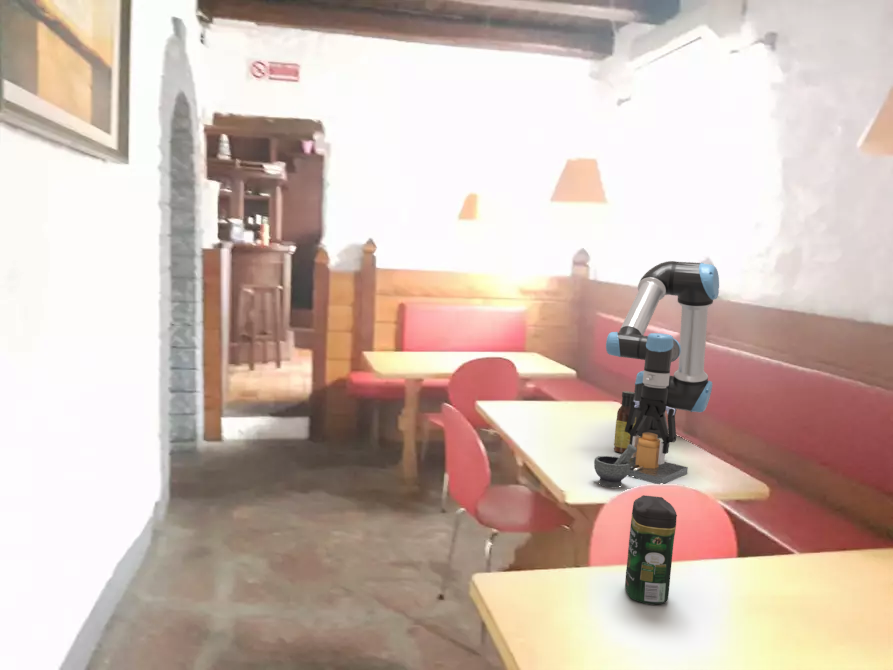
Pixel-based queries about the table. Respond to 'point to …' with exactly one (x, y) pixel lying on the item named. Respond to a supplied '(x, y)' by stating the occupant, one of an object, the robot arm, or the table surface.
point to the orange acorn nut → (648, 450)
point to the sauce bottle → (623, 423)
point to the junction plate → (657, 472)
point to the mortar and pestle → (613, 467)
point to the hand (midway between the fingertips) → (647, 460)
